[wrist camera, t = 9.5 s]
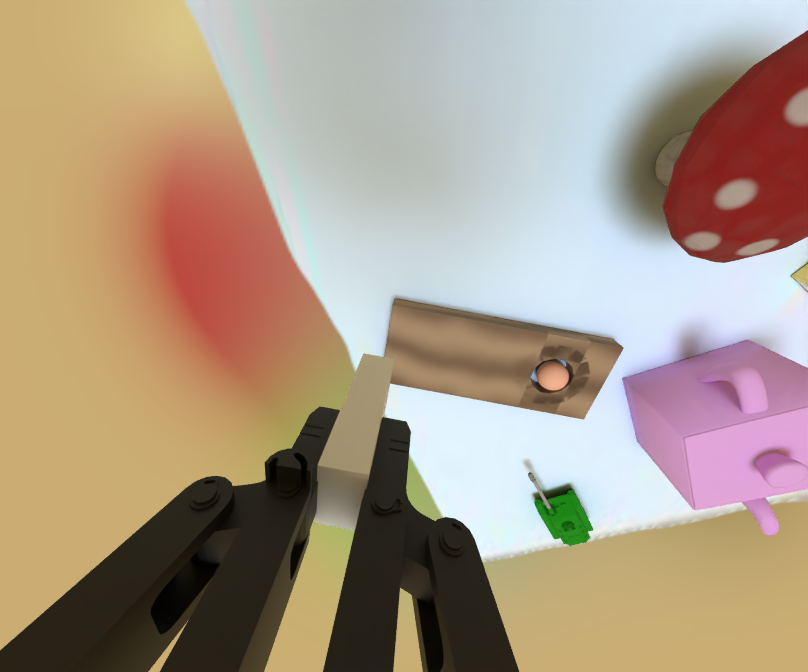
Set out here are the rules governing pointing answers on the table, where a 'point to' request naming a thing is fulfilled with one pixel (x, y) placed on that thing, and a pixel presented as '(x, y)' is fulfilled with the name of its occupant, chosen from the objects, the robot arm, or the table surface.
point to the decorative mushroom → (744, 165)
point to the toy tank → (563, 516)
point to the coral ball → (552, 375)
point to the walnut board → (494, 358)
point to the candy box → (802, 276)
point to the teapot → (726, 426)
